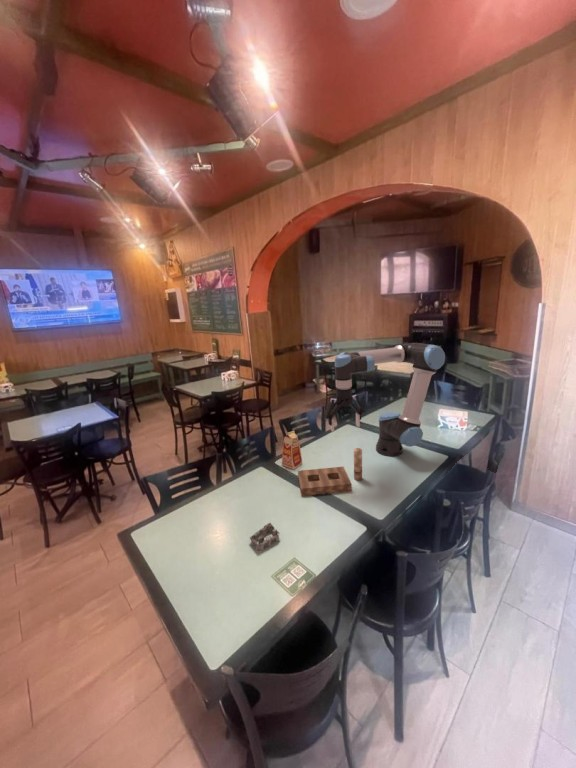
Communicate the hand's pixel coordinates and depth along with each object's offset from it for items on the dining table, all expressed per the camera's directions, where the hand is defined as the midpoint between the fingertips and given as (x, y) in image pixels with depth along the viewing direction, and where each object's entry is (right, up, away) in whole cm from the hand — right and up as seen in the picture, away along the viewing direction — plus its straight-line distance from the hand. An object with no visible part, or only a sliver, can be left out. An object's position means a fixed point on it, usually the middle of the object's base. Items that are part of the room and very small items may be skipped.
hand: (345, 428), depth 154 cm
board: (-10, -28, +1) cm, 30 cm away
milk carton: (-26, -23, +23) cm, 42 cm away
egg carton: (-37, -39, -33) cm, 63 cm away
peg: (+7, -26, +4) cm, 27 cm away
